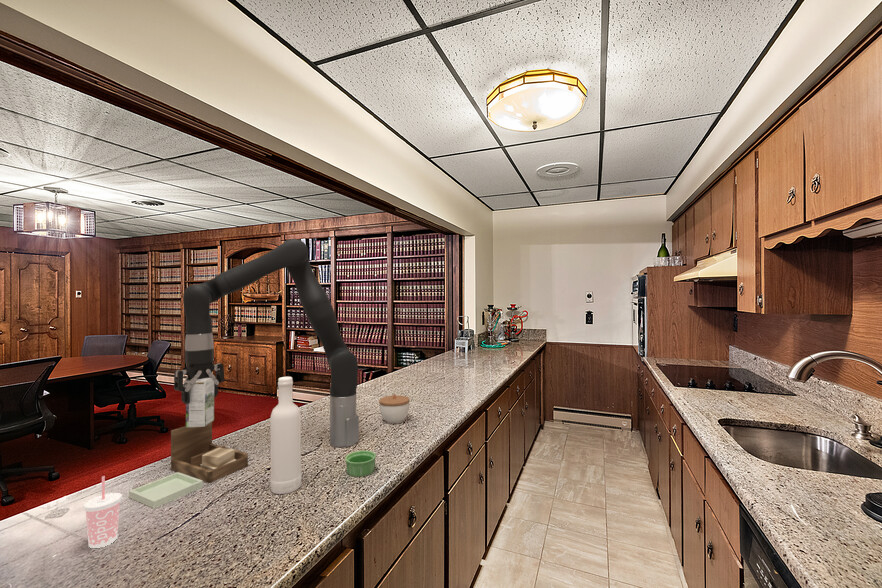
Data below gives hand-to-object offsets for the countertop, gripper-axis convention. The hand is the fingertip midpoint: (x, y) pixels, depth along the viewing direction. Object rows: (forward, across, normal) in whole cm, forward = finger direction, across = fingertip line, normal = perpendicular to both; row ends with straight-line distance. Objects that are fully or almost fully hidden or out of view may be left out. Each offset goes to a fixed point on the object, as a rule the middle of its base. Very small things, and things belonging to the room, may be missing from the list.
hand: (200, 400), depth 119 cm
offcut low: (+21, 0, -9) cm, 23 cm away
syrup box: (+8, 0, 0) cm, 8 cm away
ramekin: (+21, +19, -48) cm, 55 cm away
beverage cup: (+20, -32, -20) cm, 43 cm away
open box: (+20, 0, -4) cm, 21 cm away
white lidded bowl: (+21, +62, -30) cm, 72 cm away
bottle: (+21, +2, -36) cm, 41 cm away
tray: (+20, -14, -8) cm, 26 cm away
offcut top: (+18, 0, -9) cm, 20 cm away
